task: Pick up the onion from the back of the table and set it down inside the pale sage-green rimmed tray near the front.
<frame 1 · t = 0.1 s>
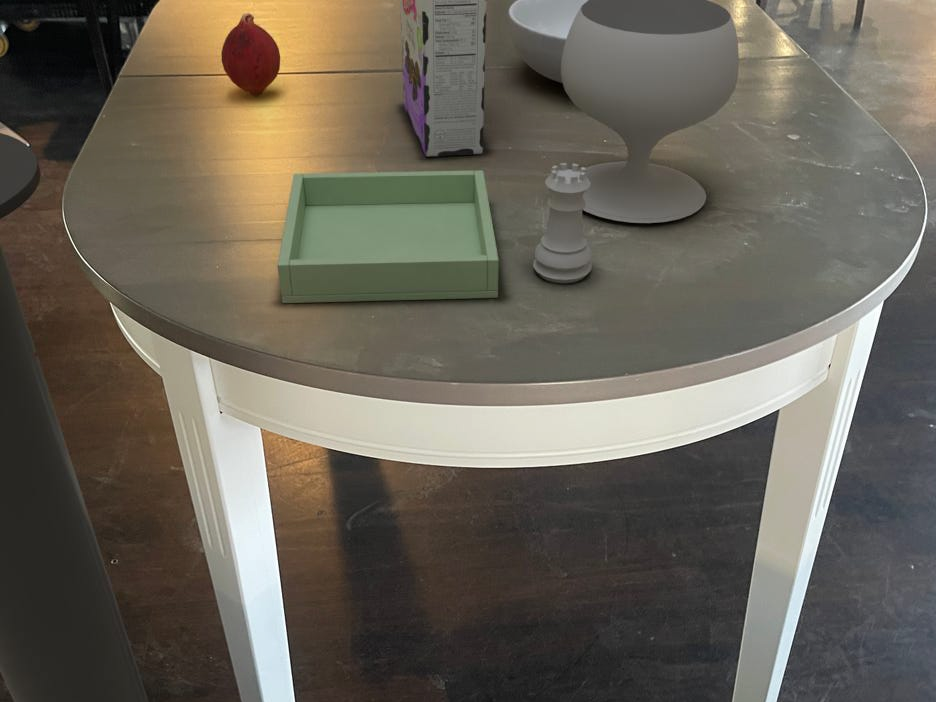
rook chess piece: (561, 273, 77), on the table
chalice: (634, 198, 88), on the table
tray: (390, 250, 79), on the table
candy box: (442, 131, 99), on the table
onion: (256, 97, 106), on the table
serving bowl: (601, 79, 111), on the table
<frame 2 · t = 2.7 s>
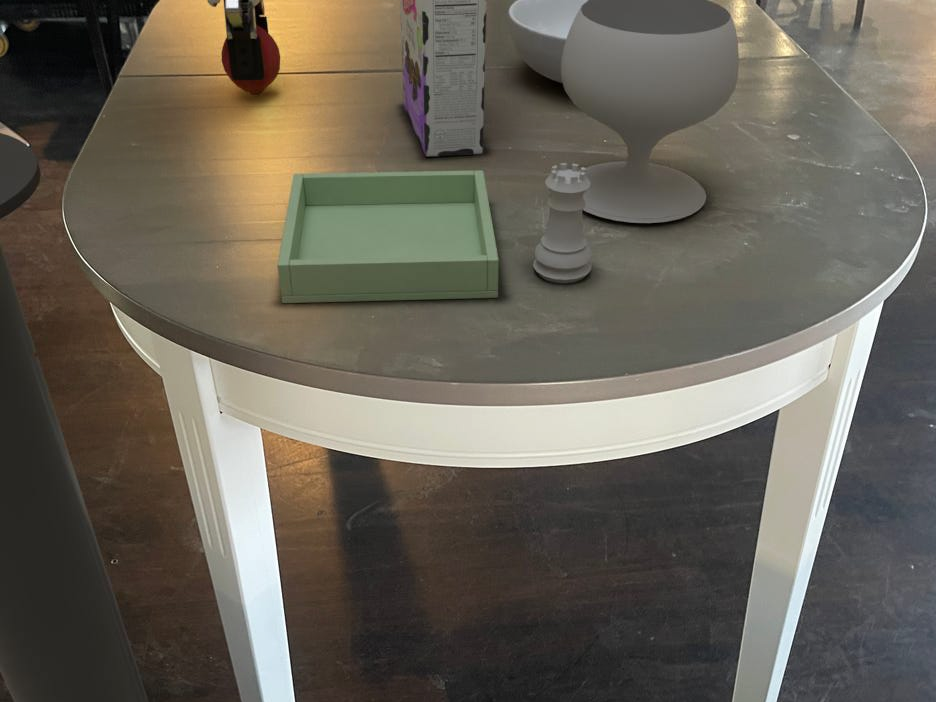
hand: (252, 66, 103), 3 cm above the table, tool pointing down, fingers closed on onion, 5 cm apart
onion: (256, 97, 106), on the table, touching gripper
everything else where it was.
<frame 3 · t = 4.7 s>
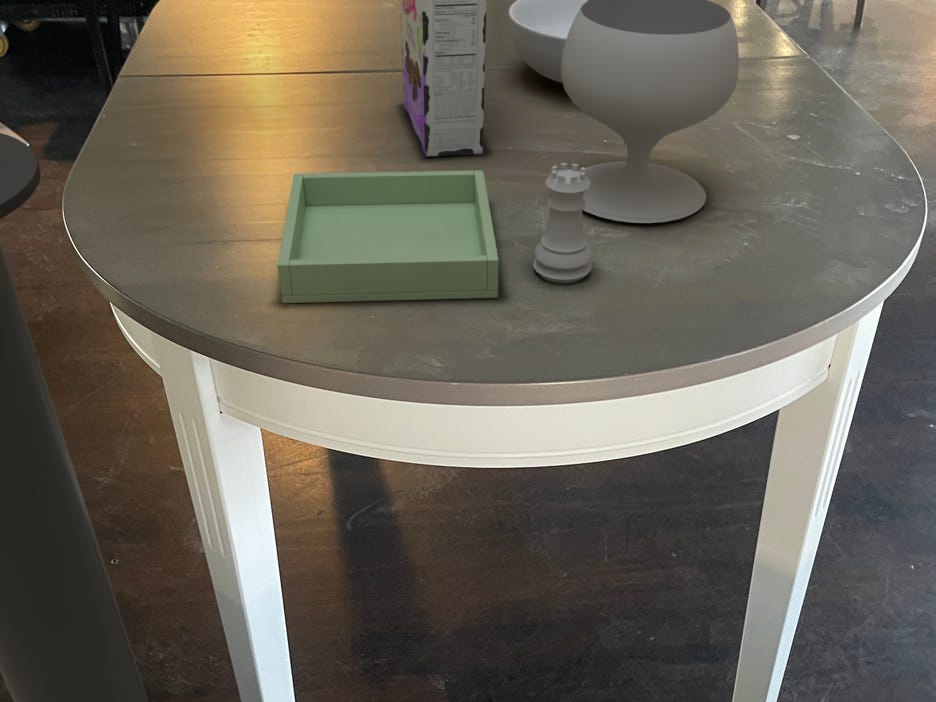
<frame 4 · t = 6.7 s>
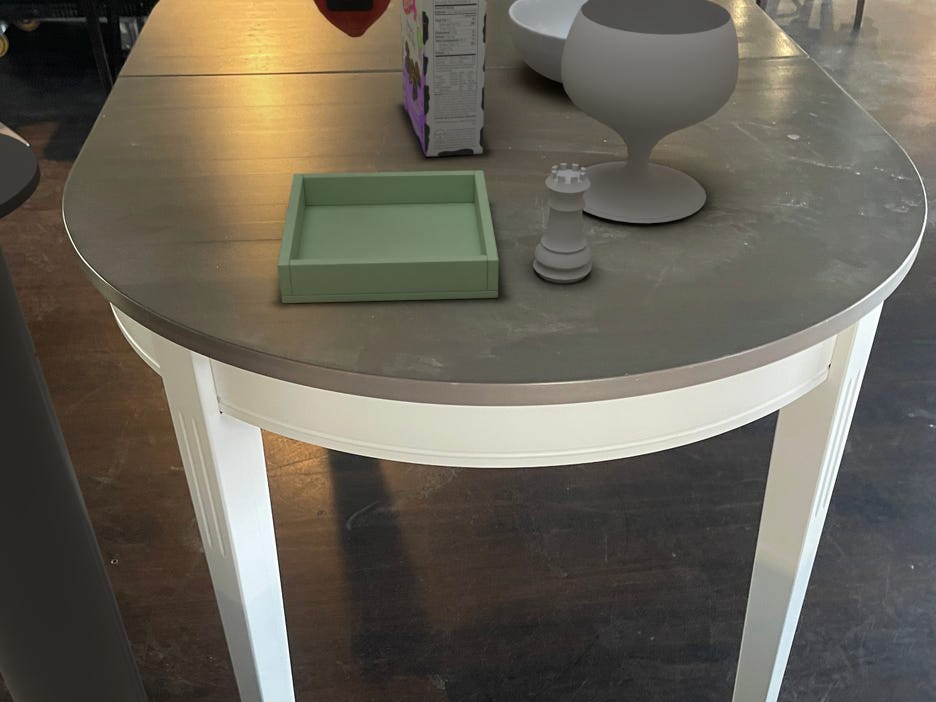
onion: (355, 40, 74), point 14 cm above the table, touching gripper
everything else where it was.
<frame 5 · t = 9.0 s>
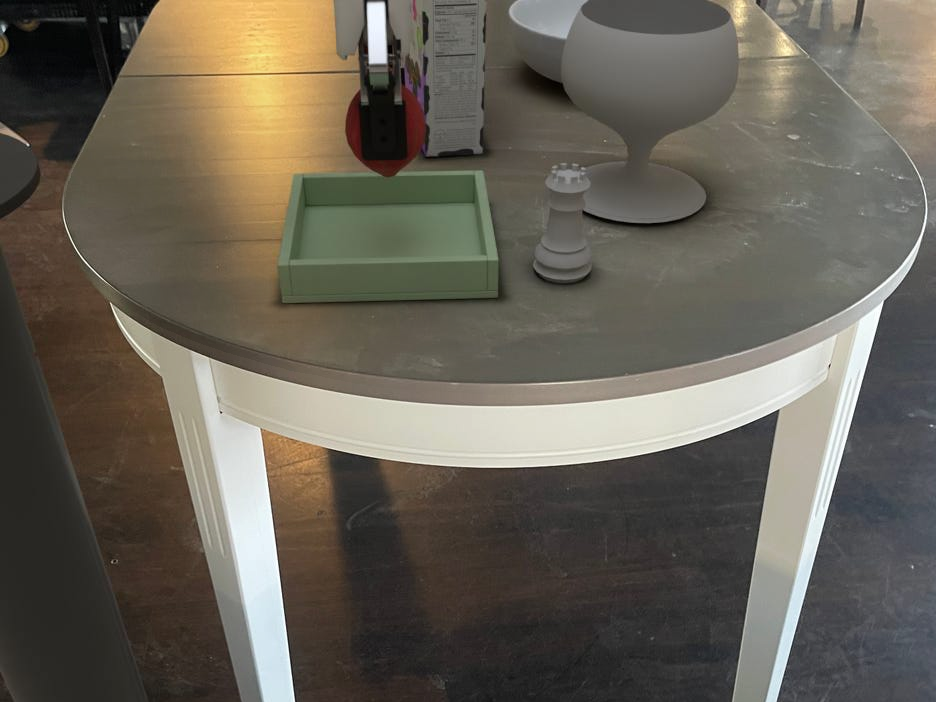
hand: (385, 138, 74), 9 cm above the table, tool pointing down, fingers closed on onion, 5 cm apart
onion: (388, 179, 76), point 6 cm above the table, touching gripper
everything else where it was.
when the fingers open (4 cm above the table, at t = 10.8 s): onion stays where it is, resting on tray.
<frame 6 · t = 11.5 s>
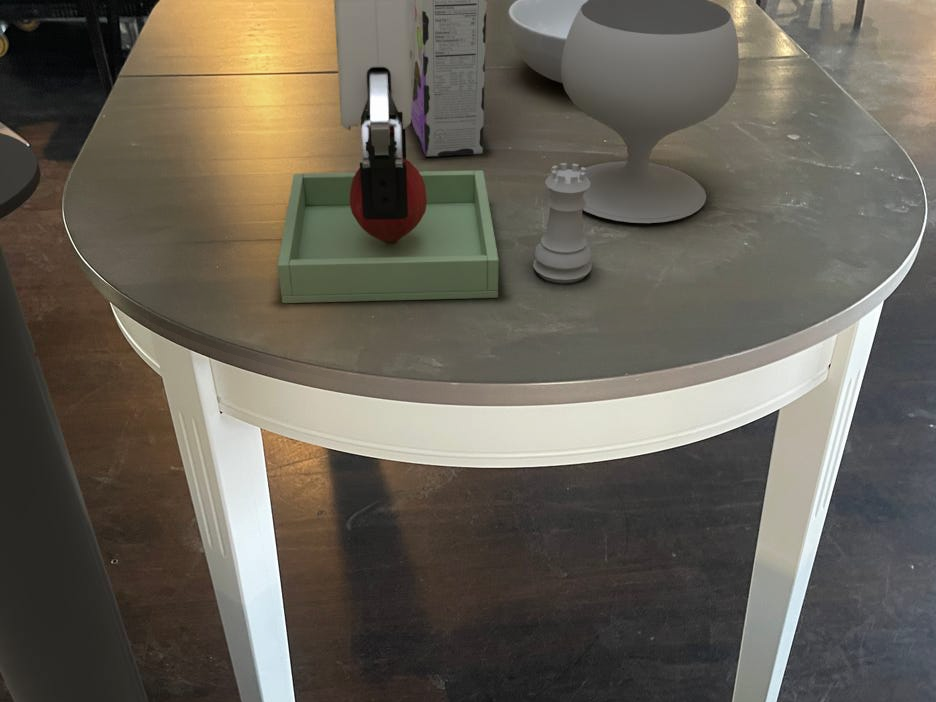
hand: (385, 188, 76), 5 cm above the table, tool pointing down, fingers open, 9 cm apart
onion: (390, 245, 79), resting on tray
everything else where it was.
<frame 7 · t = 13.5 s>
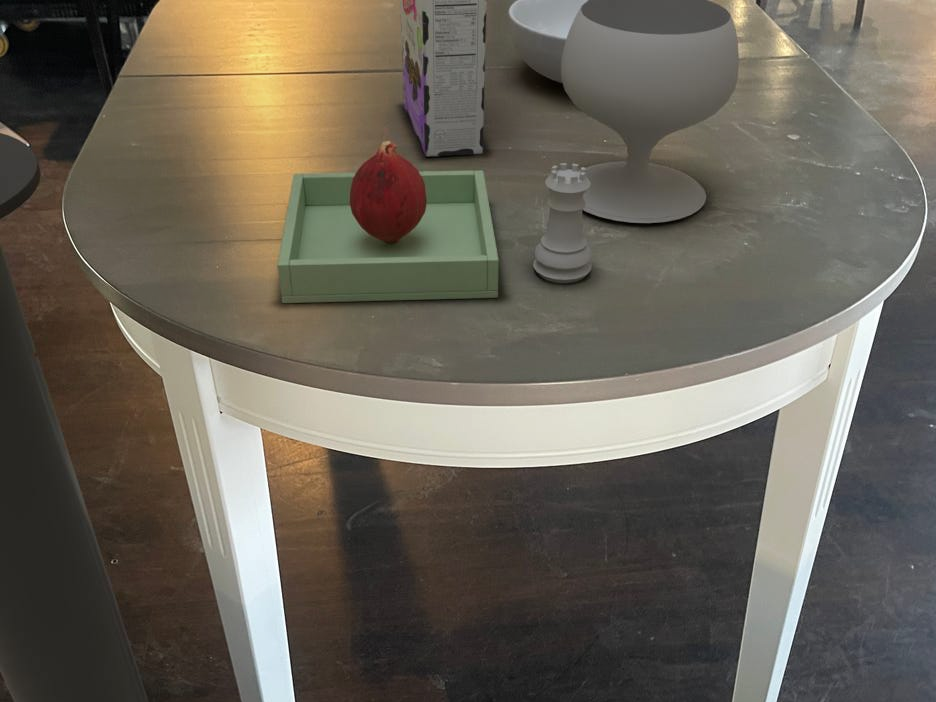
nothing on the table moved.
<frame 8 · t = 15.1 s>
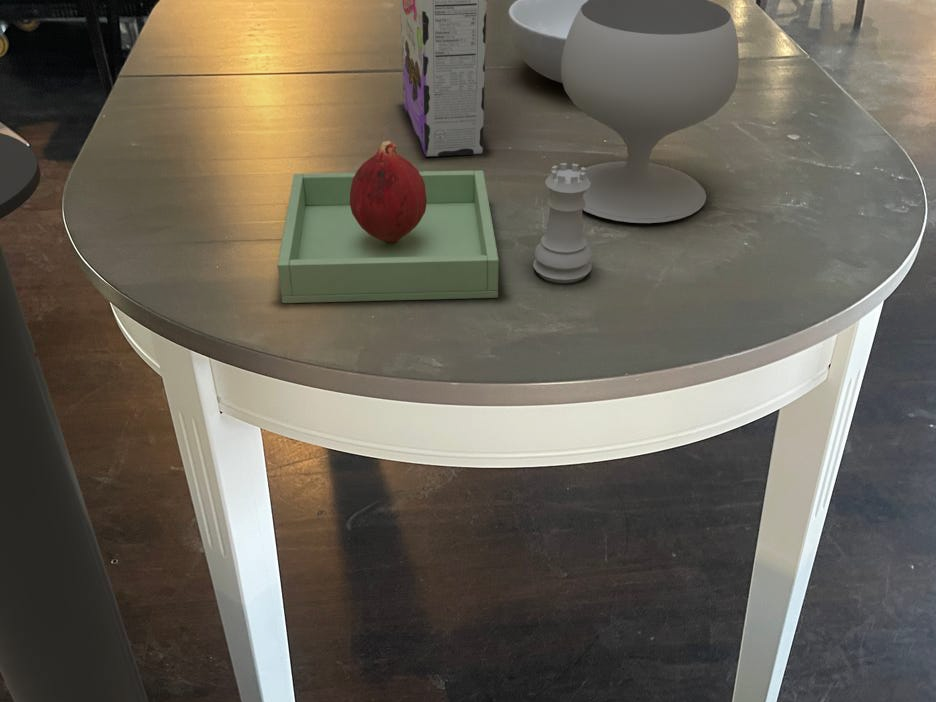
nothing on the table moved.
at the end: onion inside the target area in the tray (0.0 cm from its centre), point 0.4 cm above the tray's base; the gripper is holding nothing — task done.
